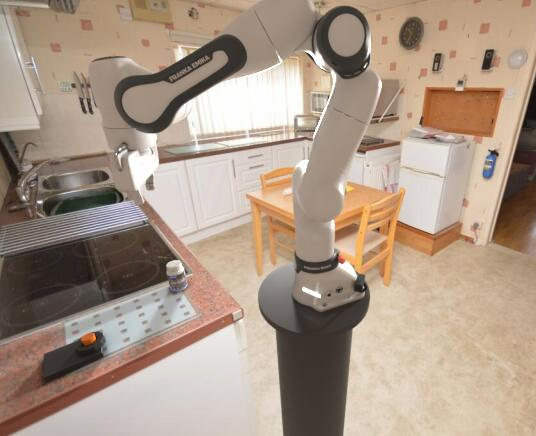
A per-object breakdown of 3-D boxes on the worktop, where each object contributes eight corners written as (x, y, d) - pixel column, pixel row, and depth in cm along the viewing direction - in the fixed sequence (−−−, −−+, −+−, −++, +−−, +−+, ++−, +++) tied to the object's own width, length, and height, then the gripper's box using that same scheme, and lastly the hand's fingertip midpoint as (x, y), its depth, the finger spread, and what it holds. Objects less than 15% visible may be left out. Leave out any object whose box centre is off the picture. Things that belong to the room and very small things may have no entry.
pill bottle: (172, 294, 85) (166, 270, 82) (169, 285, 89) (163, 262, 85) (189, 288, 88) (184, 265, 84) (185, 279, 91) (180, 257, 88)
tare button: (95, 335, 68) (93, 330, 67) (96, 342, 66) (94, 337, 66) (82, 340, 67) (80, 336, 66) (83, 347, 65) (81, 342, 64)
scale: (105, 333, 72) (101, 325, 70) (109, 354, 67) (105, 345, 65) (46, 358, 65) (41, 348, 64) (45, 382, 60) (39, 373, 59)
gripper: (131, 148, 57) (148, 212, 63) (157, 130, 74) (169, 182, 80) (93, 150, 55) (115, 215, 61) (129, 131, 73) (143, 183, 79)
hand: (146, 196), depth 71 cm, fingers open, 8 cm apart
